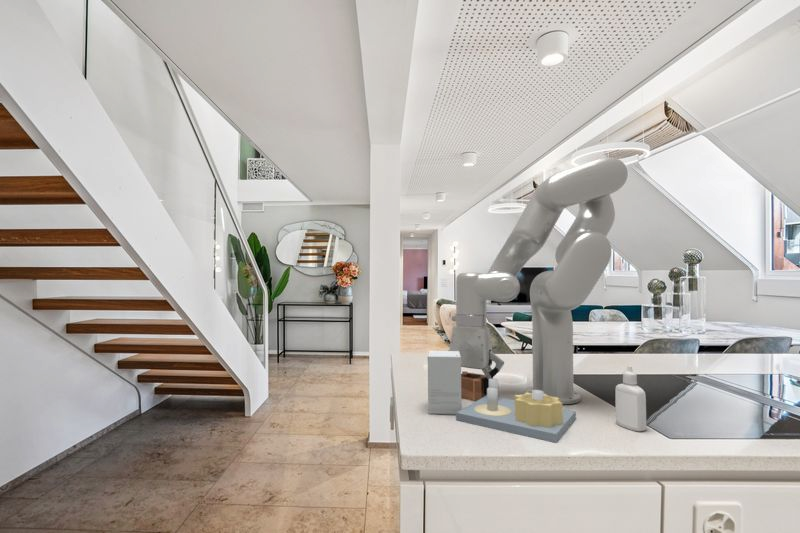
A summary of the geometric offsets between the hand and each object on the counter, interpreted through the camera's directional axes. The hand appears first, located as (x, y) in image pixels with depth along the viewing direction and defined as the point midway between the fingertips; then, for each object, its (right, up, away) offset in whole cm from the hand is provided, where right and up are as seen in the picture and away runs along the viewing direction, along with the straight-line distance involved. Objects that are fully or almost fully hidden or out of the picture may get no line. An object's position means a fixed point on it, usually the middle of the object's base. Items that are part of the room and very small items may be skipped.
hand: (471, 390), depth 101 cm
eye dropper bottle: (+28, -1, -21) cm, 35 cm away
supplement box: (-8, -1, -11) cm, 13 cm away
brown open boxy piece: (0, -1, 0) cm, 1 cm away
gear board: (+7, -1, -17) cm, 18 cm away
